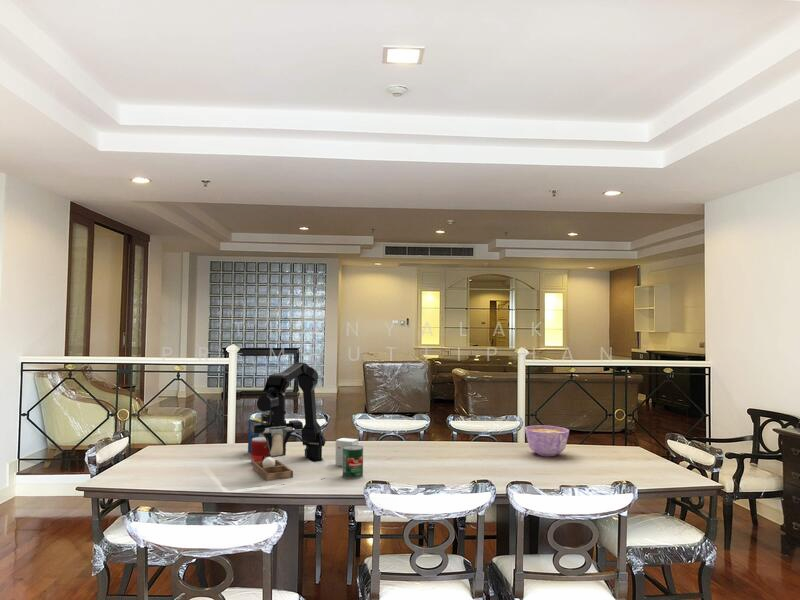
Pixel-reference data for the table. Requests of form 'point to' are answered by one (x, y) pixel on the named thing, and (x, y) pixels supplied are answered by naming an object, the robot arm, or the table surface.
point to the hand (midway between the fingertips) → (276, 449)
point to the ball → (268, 462)
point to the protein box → (254, 435)
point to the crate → (273, 471)
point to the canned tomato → (352, 461)
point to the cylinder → (277, 444)
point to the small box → (339, 448)
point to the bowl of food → (546, 439)
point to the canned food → (259, 449)
